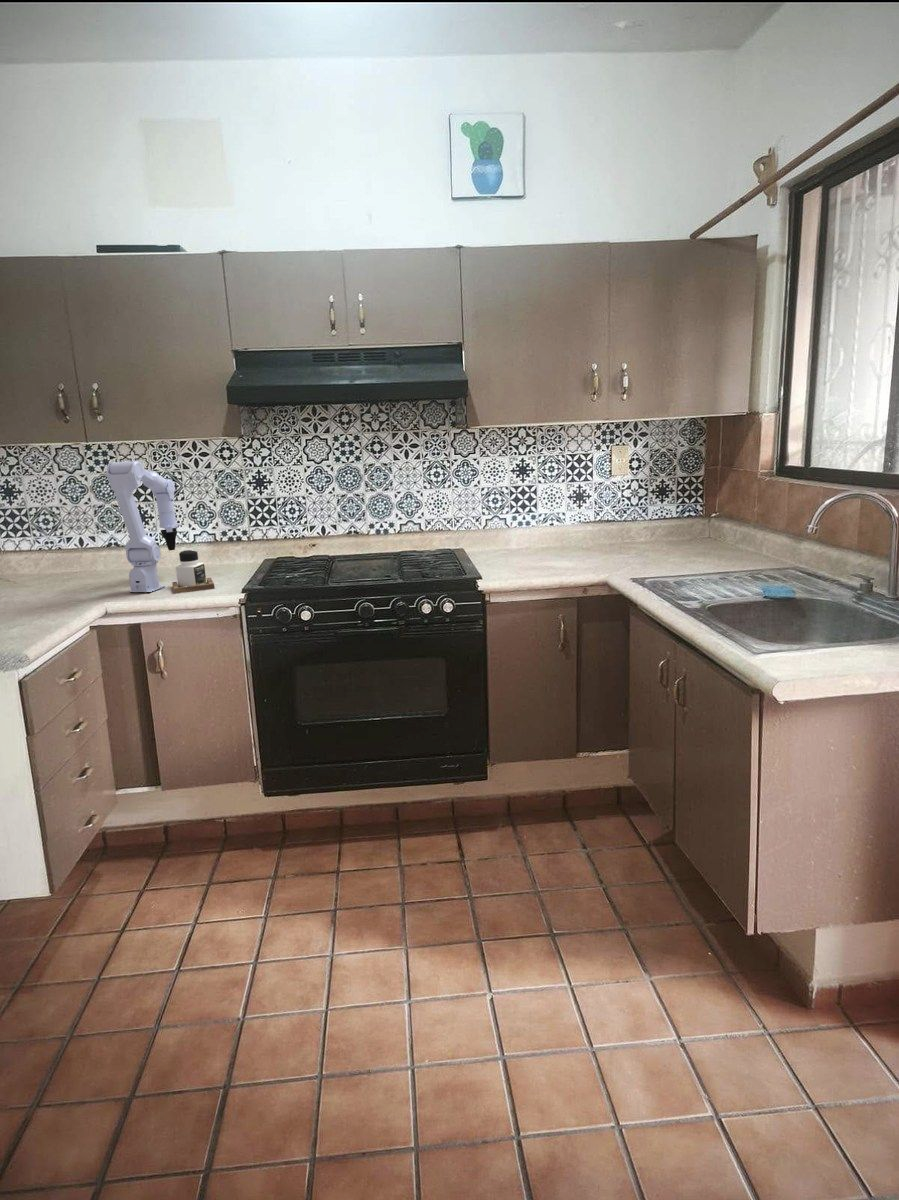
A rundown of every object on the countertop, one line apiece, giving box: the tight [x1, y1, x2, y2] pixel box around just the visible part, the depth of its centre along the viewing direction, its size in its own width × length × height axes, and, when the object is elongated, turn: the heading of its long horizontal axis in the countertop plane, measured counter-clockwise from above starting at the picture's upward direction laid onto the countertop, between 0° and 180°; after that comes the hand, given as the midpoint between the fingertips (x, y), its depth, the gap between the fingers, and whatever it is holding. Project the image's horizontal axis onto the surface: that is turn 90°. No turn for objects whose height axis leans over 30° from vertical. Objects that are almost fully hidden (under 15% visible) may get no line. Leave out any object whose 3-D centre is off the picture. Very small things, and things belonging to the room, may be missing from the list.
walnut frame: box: [171, 577, 215, 594], centre depth 265 cm, size 12×13×2 cm
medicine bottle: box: [175, 549, 207, 587], centre depth 269 cm, size 7×7×12 cm
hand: (171, 549), depth 282 cm, fingers open, 4 cm apart
